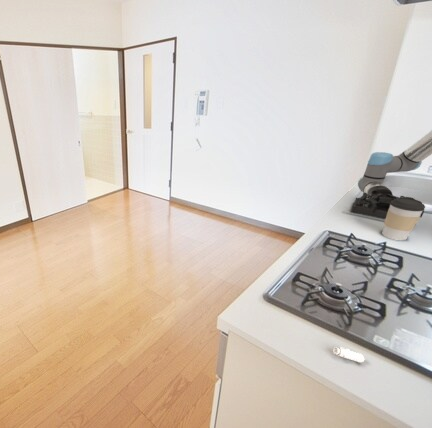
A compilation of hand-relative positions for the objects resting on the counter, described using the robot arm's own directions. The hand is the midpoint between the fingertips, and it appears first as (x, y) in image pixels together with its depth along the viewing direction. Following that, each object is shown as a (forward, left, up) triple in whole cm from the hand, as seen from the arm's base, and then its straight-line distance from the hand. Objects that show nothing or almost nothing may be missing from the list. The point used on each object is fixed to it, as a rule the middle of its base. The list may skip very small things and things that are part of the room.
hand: (397, 211), depth 107 cm
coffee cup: (-1, +4, -9) cm, 10 cm away
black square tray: (+7, -19, -8) cm, 22 cm away
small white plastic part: (+5, +80, -9) cm, 80 cm away
